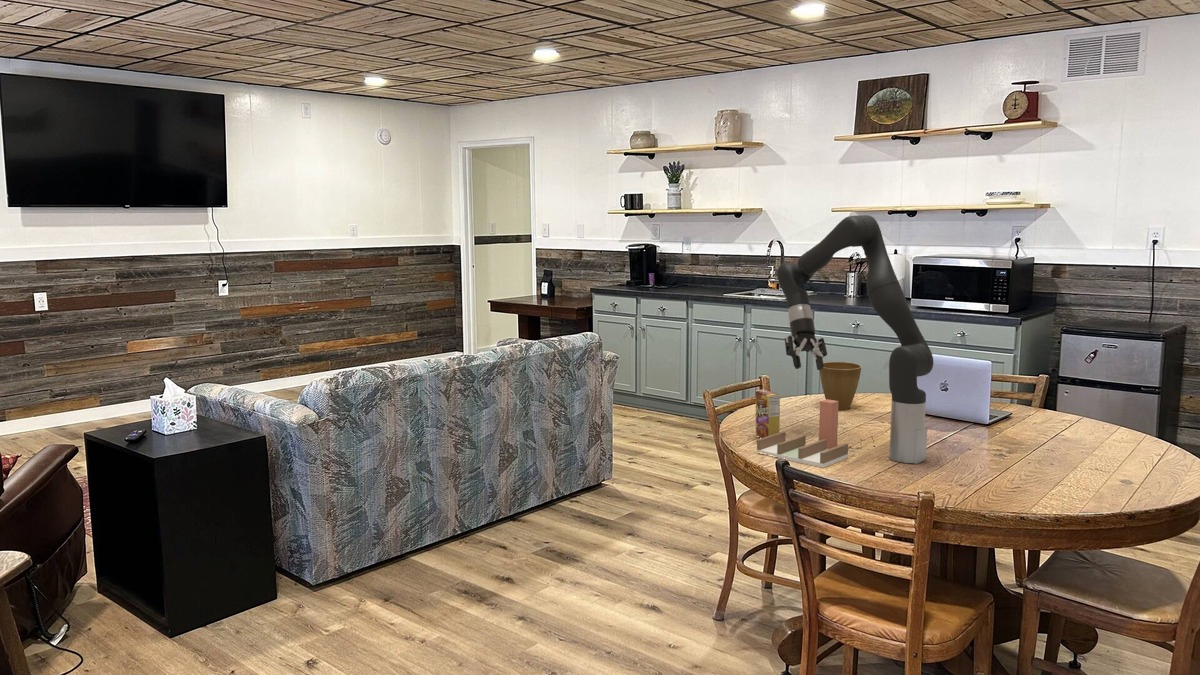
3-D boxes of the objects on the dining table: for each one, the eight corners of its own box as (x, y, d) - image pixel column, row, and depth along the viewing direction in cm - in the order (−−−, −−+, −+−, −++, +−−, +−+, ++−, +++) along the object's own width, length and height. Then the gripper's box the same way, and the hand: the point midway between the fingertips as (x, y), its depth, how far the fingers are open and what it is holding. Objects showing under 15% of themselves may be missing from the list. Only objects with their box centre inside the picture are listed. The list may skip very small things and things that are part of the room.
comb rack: (847, 457, 255) (848, 443, 254) (823, 467, 245) (823, 453, 244) (782, 444, 270) (782, 431, 269) (756, 453, 260) (757, 439, 260)
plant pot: (812, 404, 327) (813, 362, 325) (851, 403, 328) (853, 361, 326) (825, 413, 312) (826, 369, 310) (866, 412, 313) (867, 368, 311)
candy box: (754, 436, 280) (755, 389, 278) (766, 435, 281) (767, 388, 279) (767, 443, 271) (768, 395, 269) (779, 442, 273) (781, 394, 271)
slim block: (837, 445, 268) (838, 401, 266) (830, 448, 265) (831, 403, 263) (825, 443, 271) (826, 399, 269) (818, 446, 268) (820, 401, 266)
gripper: (789, 315, 276) (798, 364, 271) (826, 318, 282) (835, 366, 277) (776, 323, 283) (784, 371, 277) (812, 326, 289) (820, 373, 283)
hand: (809, 368), depth 277 cm, fingers open, 8 cm apart
